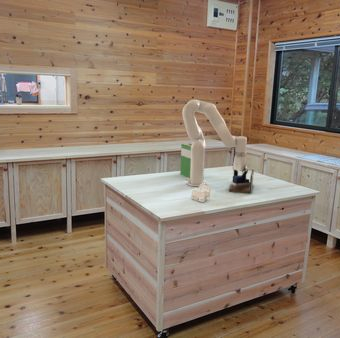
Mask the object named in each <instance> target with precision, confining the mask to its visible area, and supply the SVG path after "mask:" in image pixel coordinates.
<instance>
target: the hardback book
mask: <svg viewBox="0 0 340 338" xmlns="http://www.w3.org/2000/svg"><path fill="white" fill-rule="evenodd" d="M180 146H181V147H180V171H179V173H180V175H182V176H185V177H186V178H190V169H191V146H192V143H188V144H184V143H181V145H180Z"/></svg>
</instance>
